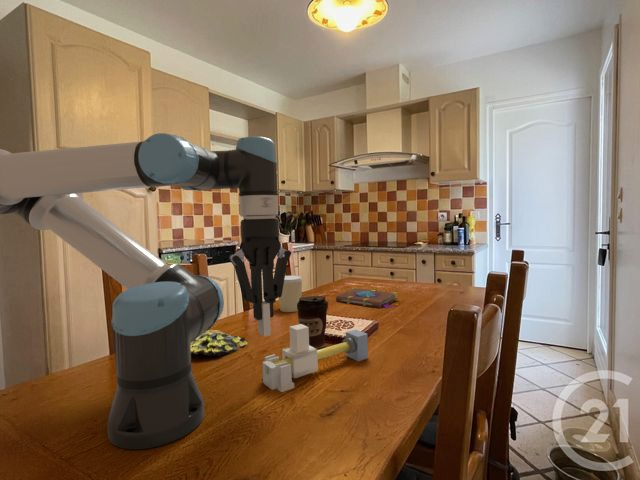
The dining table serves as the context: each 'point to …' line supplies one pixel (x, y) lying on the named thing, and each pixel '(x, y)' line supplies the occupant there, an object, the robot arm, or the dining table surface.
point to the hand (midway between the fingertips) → (264, 334)
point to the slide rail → (353, 345)
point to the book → (367, 297)
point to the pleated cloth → (216, 343)
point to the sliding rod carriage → (301, 352)
